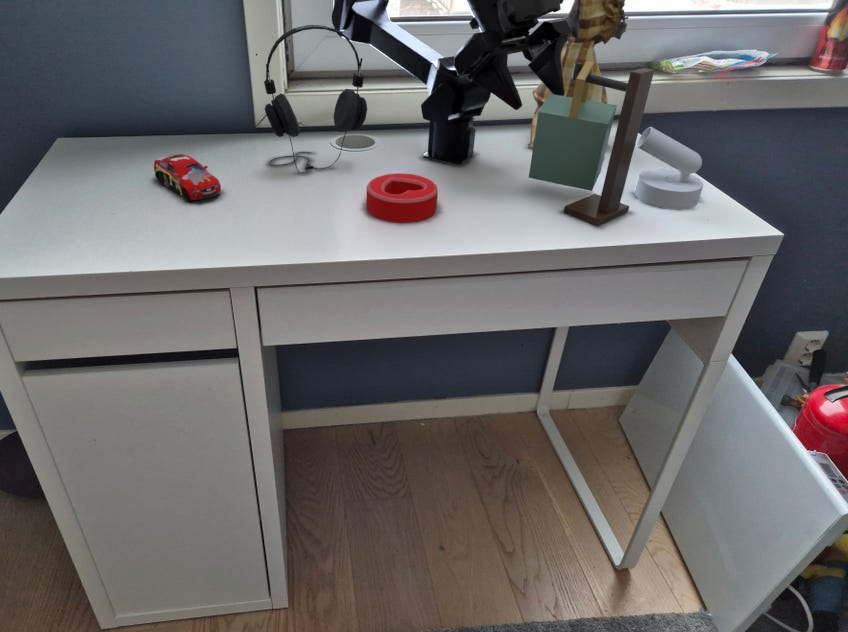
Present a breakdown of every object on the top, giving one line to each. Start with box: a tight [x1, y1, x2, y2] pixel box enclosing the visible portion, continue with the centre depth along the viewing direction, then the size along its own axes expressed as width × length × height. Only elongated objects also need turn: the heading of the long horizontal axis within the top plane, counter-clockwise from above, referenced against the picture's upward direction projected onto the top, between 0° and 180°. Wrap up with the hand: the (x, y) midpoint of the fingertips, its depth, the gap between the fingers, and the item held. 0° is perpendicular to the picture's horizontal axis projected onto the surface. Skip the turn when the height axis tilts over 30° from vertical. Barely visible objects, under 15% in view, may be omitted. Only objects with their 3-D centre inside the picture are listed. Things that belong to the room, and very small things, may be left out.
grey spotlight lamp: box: [634, 126, 704, 210], centre depth 91 cm, size 9×10×10 cm
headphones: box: [263, 24, 368, 174], centre depth 97 cm, size 15×11×20 cm
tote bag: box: [528, 61, 618, 192], centre depth 87 cm, size 9×5×15 cm, turn 64°
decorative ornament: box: [365, 173, 439, 224], centre depth 89 cm, size 10×10×3 cm
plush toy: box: [527, 0, 629, 148], centre depth 106 cm, size 14×14×25 cm
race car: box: [153, 153, 222, 202], centre depth 93 cm, size 13×5×4 cm, turn 39°
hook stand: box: [562, 62, 655, 228], centre depth 85 cm, size 10×7×19 cm
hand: (541, 102), depth 89 cm, fingers open, 9 cm apart
